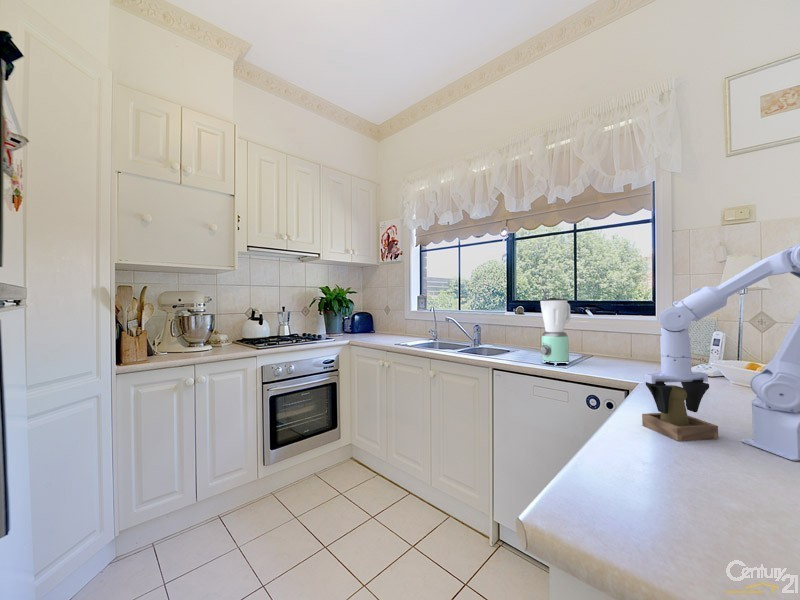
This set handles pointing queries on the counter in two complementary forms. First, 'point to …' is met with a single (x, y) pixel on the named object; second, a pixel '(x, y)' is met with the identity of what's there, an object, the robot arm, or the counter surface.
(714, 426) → the wooden tray
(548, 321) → the mint green blender
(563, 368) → the counter surface
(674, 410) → the cork
